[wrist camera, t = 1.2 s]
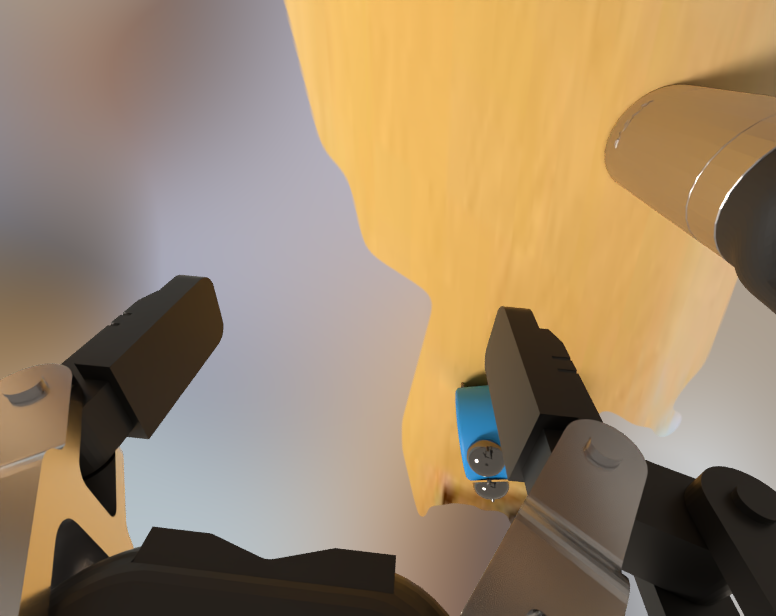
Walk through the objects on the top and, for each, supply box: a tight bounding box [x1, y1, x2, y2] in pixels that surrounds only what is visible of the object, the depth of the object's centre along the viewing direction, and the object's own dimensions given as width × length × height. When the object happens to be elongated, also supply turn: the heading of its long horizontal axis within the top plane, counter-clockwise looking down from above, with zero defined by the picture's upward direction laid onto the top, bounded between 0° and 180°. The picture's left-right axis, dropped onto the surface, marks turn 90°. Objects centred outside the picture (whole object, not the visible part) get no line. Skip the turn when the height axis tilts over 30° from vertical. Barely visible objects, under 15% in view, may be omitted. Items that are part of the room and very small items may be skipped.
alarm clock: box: [456, 383, 509, 502], centre depth 52 cm, size 13×6×15 cm, turn 16°
